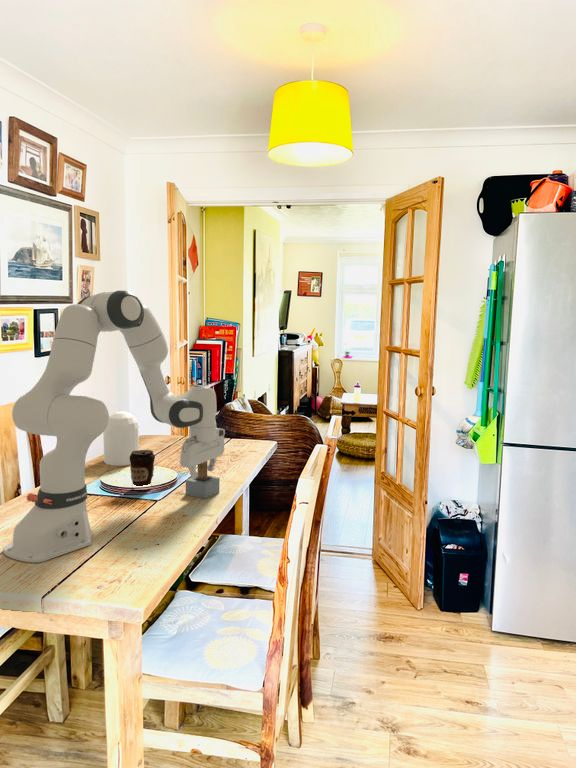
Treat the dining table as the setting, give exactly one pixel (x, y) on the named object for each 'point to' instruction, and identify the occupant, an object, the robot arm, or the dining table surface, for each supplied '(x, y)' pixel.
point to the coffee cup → (142, 467)
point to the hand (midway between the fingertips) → (202, 474)
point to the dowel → (202, 471)
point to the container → (120, 438)
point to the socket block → (202, 487)
